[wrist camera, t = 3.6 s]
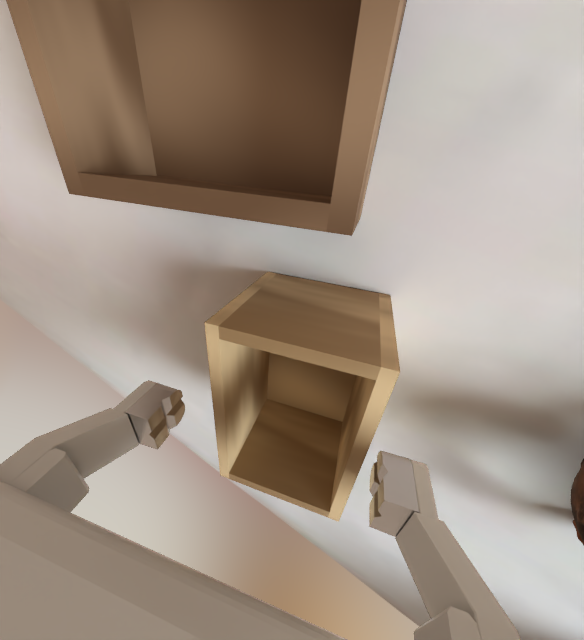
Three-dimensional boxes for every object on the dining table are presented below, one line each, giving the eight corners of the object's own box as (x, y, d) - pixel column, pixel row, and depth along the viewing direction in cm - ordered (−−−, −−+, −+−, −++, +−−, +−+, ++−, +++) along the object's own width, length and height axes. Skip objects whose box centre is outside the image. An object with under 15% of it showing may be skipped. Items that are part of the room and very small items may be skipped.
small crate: (349, 422, 16) (338, 521, 11) (262, 396, 17) (220, 475, 12) (390, 295, 11) (400, 371, 7) (267, 271, 13) (204, 322, 8)
